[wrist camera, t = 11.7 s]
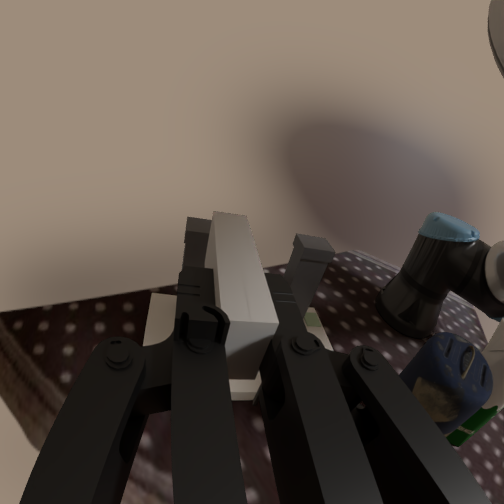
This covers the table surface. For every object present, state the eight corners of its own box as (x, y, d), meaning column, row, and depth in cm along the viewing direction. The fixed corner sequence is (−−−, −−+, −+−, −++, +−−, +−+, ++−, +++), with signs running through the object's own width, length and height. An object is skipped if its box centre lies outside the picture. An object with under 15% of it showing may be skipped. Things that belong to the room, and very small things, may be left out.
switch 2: (296, 309, 44) (325, 238, 38) (302, 325, 41) (335, 252, 35) (270, 307, 43) (296, 233, 37) (274, 323, 40) (304, 247, 34)
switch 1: (207, 301, 41) (223, 221, 35) (207, 318, 38) (225, 235, 32) (177, 298, 40) (187, 216, 34) (175, 315, 37) (185, 230, 31)
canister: (329, 435, 28) (419, 334, 19) (377, 405, 33) (455, 310, 24) (371, 490, 21) (491, 410, 12) (415, 451, 26) (511, 365, 17)
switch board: (309, 316, 47) (314, 306, 46) (342, 393, 34) (349, 385, 33) (151, 302, 41) (152, 291, 40) (138, 393, 28) (137, 383, 26)
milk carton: (423, 436, 28) (521, 336, 18) (430, 395, 35) (506, 300, 25) (461, 453, 24) (558, 362, 15) (464, 412, 32) (541, 325, 22)
